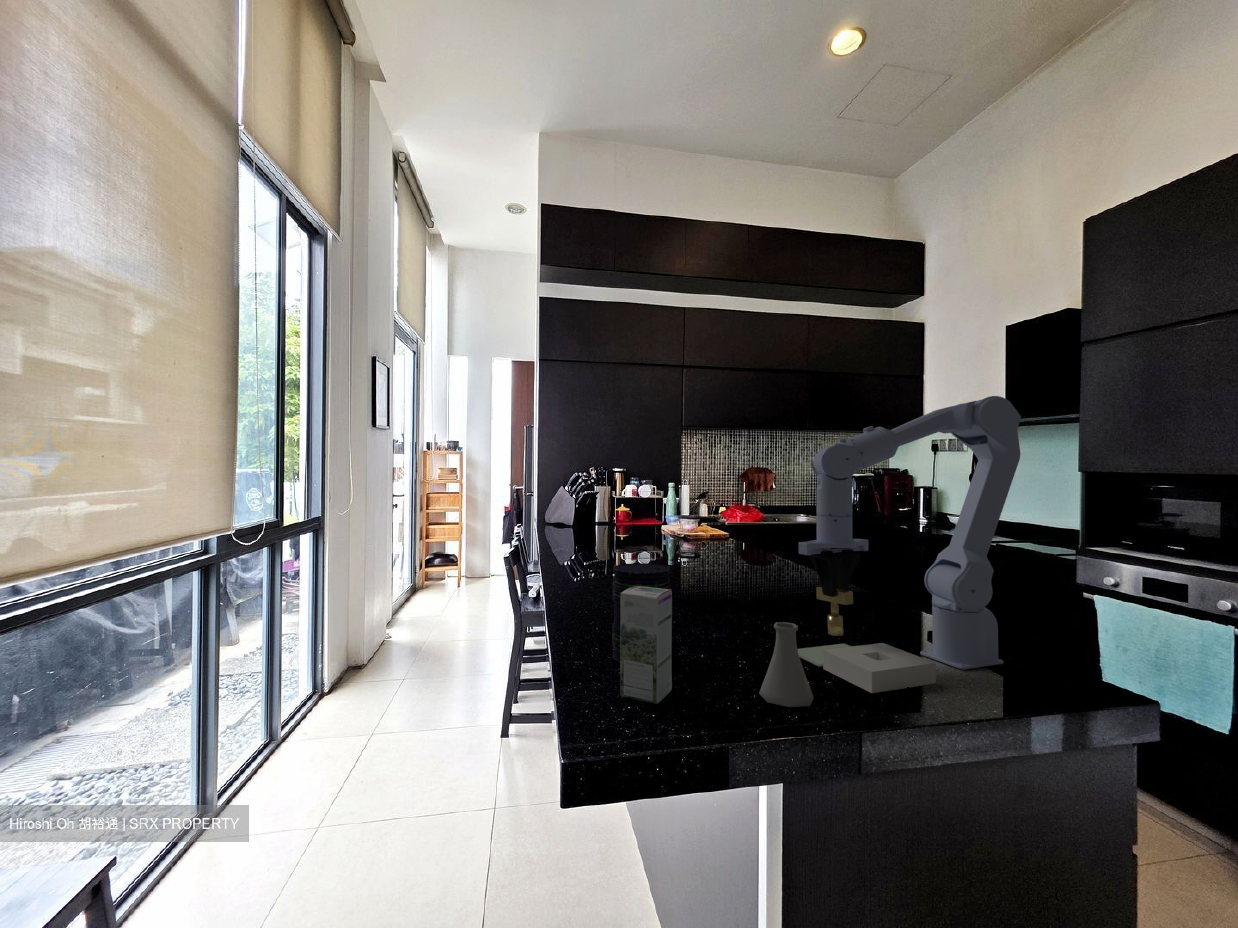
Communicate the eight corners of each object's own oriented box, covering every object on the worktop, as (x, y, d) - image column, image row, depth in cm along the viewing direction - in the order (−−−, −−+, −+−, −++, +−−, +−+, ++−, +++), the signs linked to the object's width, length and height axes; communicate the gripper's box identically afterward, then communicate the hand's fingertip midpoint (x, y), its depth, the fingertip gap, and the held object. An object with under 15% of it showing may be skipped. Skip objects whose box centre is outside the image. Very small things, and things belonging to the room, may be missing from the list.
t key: (816, 630, 92) (815, 587, 92) (826, 629, 93) (825, 586, 93) (845, 639, 86) (843, 592, 87) (855, 637, 88) (853, 591, 88)
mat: (844, 645, 96) (844, 643, 96) (876, 658, 89) (876, 657, 89) (788, 651, 92) (788, 650, 92) (818, 666, 85) (818, 664, 85)
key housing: (882, 661, 88) (882, 643, 88) (935, 683, 78) (935, 662, 78) (823, 669, 84) (823, 649, 84) (871, 693, 74) (871, 671, 74)
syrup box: (673, 690, 75) (673, 588, 75) (656, 706, 70) (657, 595, 70) (636, 683, 78) (637, 584, 78) (618, 697, 72) (619, 591, 73)
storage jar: (603, 662, 86) (604, 570, 87) (622, 644, 96) (622, 561, 96) (662, 669, 83) (663, 574, 84) (675, 650, 92) (676, 565, 93)
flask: (818, 711, 68) (818, 634, 69) (760, 706, 70) (760, 630, 70) (809, 689, 76) (809, 619, 76) (757, 685, 77) (757, 616, 77)
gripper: (821, 518, 84) (822, 604, 83) (883, 516, 90) (884, 595, 90) (789, 515, 90) (789, 595, 90) (849, 513, 96) (849, 588, 96)
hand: (834, 595), depth 90 cm, fingers closed on t key, 2 cm apart
